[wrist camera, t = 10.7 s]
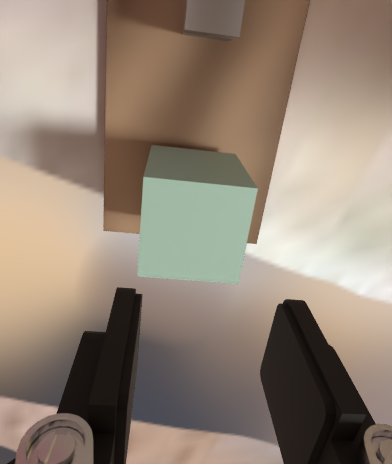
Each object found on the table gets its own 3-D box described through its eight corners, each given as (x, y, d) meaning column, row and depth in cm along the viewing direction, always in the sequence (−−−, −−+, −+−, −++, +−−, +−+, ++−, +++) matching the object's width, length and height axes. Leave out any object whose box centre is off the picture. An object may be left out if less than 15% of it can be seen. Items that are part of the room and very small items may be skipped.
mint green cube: (235, 154, 22) (257, 188, 17) (222, 229, 25) (238, 283, 19) (151, 144, 22) (143, 176, 16) (146, 222, 24) (137, 276, 18)
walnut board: (319, -59, 19) (359, -91, 15) (254, 240, 27) (269, 273, 23) (110, -96, 18) (92, -141, 14) (104, 227, 26) (91, 259, 22)
